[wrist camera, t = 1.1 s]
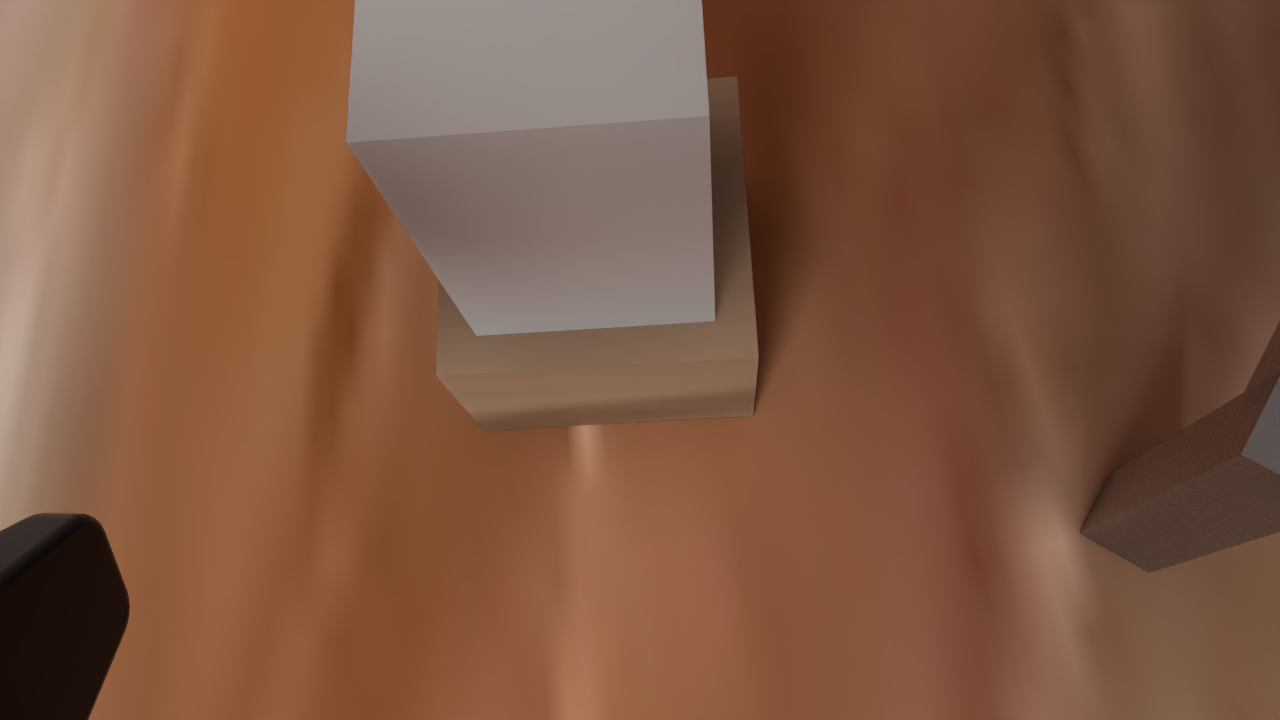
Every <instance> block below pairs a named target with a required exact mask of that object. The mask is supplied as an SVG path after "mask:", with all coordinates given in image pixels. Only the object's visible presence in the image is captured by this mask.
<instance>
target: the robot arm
mask: <svg viewBox="0 0 1280 720" xmlns="http://www.w3.org/2000/svg"><path fill="white" fill-rule="evenodd" d="M129 609H130V605H129V596H128V592H127V589H126V587H125V584H124V581H123V579H122V576H121V573H120V571H119V568H118V565H117V563H116V560H115V557H114V555H113V552H112V549H111V547H110V544H109V541H108V539H107V536H106V533H105V531H104V529H103V527H102V525H101V524H100V523H99V522H98V521H97V520H96V519H95V518H94V517H92V516H89V515H87V514H74V513H40V514H35V515H32V516H30V517H27V518H25V519H23V520H21V521H19V522H17V523H15V524H13V525H11V526H10V527H8V528H6V529H4V530H2V531H0V720H88V719H89V716H90V714H91V712H92V709H93V707H94V704H95V702H96V700H97V697H98V695H99V692H100V690H101V688H102V685H103V683H104V680H105V678H106V676H107V673H108V671H109V669H110V666H111V664H112V661H113V659H114V657H115V654H116V652H117V649H118V647H119V645H120V642H121V640H122V637H123V635H124V633H125V630H126V627H127V623H128V618H129Z"/></svg>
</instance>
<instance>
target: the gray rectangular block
mask: <svg viewBox="0 0 1280 720" xmlns="http://www.w3.org/2000/svg"><path fill="white" fill-rule="evenodd" d="M346 144H347V145H348V147H349V148H350V150H351V151H352V152H353V154H354V155H355V157H356V158H357V160H358V161H359V163H360V164H361V166H362V167H363V169H364V170H365V172H366V173H367V175H368V176H369V178H370V179H371V181H372V182H373V184H374V185H375V187H376V188H377V189H378V191H379V192H380V194H381V195H382V197H383V198H384V200H385V201H386V203H387V204H388V206H389V207H390V209H391V210H392V212H393V213H394V215H395V216H396V218H397V219H398V221H399V222H400V224H401V225H402V227H403V228H404V229H405V231H406V232H407V234H408V235H409V237H410V238H411V240H412V241H413V243H414V244H415V246H416V247H417V249H418V250H419V252H420V253H421V255H422V256H423V258H424V259H425V261H426V262H427V264H428V265H429V266H430V268H431V269H432V271H433V272H434V274H435V275H436V277H437V278H438V280H439V281H440V283H441V284H442V286H443V287H444V289H445V290H446V292H447V293H448V295H449V296H450V298H451V299H452V301H453V302H454V303H455V305H456V306H457V308H458V309H459V311H460V312H461V314H462V315H463V317H464V318H465V320H466V321H467V323H468V324H469V326H470V327H471V329H472V330H473V332H474V333H475V335H476V336H483V335H499V334H515V333H532V332H548V331H564V330H581V329H597V328H613V327H630V326H646V325H662V324H678V323H695V322H711V321H715V293H714V258H713V224H712V189H711V154H710V120H709V102H708V87H707V72H706V57H705V41H704V26H703V11H702V0H355V13H354V28H353V43H352V58H351V73H350V89H349V104H348V119H347V134H346Z"/></svg>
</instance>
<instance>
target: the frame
mask: <svg viewBox="0 0 1280 720" xmlns="http://www.w3.org/2000/svg"><path fill="white" fill-rule="evenodd" d="M1277 532H1280V322H1279V324H1278V326H1277V328H1276V330H1275V332H1274V334H1273V336H1272V338H1271V340H1270V342H1269V344H1268V346H1267V348H1266V350H1265V352H1264V354H1263V356H1262V358H1261V360H1260V362H1259V364H1258V366H1257V368H1256V370H1255V372H1254V374H1253V376H1252V378H1251V380H1250V382H1249V384H1248V386H1247V388H1246V390H1245V392H1244V393H1243V394H1241V395H1239V396H1238V397H1236V398H1234V399H1233V400H1231V401H1229V402H1228V403H1226V404H1224V405H1223V406H1221V407H1219V408H1218V409H1216V410H1214V411H1213V412H1211V413H1210V414H1208V415H1206V416H1205V417H1203V418H1201V419H1200V420H1198V421H1196V422H1195V423H1193V424H1191V425H1190V426H1188V427H1186V428H1185V429H1183V430H1181V431H1180V432H1178V433H1177V434H1175V435H1173V436H1172V437H1170V438H1168V439H1167V440H1165V441H1163V442H1162V443H1160V444H1158V445H1157V446H1155V447H1153V448H1152V449H1150V450H1148V451H1147V452H1145V453H1143V454H1142V455H1140V456H1139V457H1137V458H1135V459H1134V460H1132V461H1130V462H1129V463H1127V464H1125V465H1124V466H1122V467H1120V468H1119V469H1117V470H1115V471H1114V472H1112V473H1111V475H1110V477H1109V479H1108V481H1107V483H1106V485H1105V487H1104V489H1103V490H1102V492H1101V494H1100V496H1099V498H1098V500H1097V502H1096V504H1095V506H1094V508H1093V510H1092V511H1091V513H1090V515H1089V517H1088V519H1087V521H1086V523H1085V525H1084V527H1083V529H1082V530H1081V532H1080V533H1081V534H1082V535H1084V536H1086V537H1088V538H1089V539H1091V540H1093V541H1095V542H1096V543H1098V544H1100V545H1102V546H1103V547H1105V548H1107V549H1109V550H1110V551H1112V552H1114V553H1116V554H1118V555H1119V556H1121V557H1123V558H1125V559H1126V560H1128V561H1130V562H1132V563H1133V564H1135V565H1137V566H1139V567H1140V568H1142V569H1144V570H1146V571H1147V572H1149V573H1150V572H1153V571H1156V570H1159V569H1163V568H1166V567H1169V566H1172V565H1175V564H1178V563H1182V562H1185V561H1188V560H1191V559H1194V558H1198V557H1201V556H1204V555H1207V554H1210V553H1213V552H1217V551H1220V550H1223V549H1226V548H1229V547H1232V546H1236V545H1239V544H1242V543H1245V542H1248V541H1251V540H1255V539H1258V538H1261V537H1264V536H1267V535H1270V534H1274V533H1277Z"/></svg>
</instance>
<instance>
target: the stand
mask: <svg viewBox="0 0 1280 720" xmlns="http://www.w3.org/2000/svg"><path fill="white" fill-rule="evenodd" d="M707 87H708V102H709V120H710V154H711V189H712V224H713V258H714V293H715V321H711V322H695V323H678V324H662V325H646V326H630V327H613V328H597V329H581V330H564V331H548V332H532V333H515V334H499V335H483V336H476V335H475V333H474V332H473V330H472V329H471V327H470V326H469V324H468V323H467V321H466V320H465V318H464V317H463V315H462V314H461V312H460V311H459V309H458V308H457V306H456V305H455V303H454V302H453V301H452V299H451V298H450V296H449V295H448V293H447V292H446V290H445V289H444V287H443V286H442V284H441V283H440V281H439V298H438V331H437V363H436V376H437V378H438V379H439V380H440V381H441V382H442V383H443V384H444V386H445V387H446V388H447V389H448V390H449V391H450V392H451V394H452V395H453V396H454V397H455V398H456V399H457V400H458V401H459V403H460V404H461V405H462V406H463V407H464V408H465V409H466V411H467V412H468V413H469V414H470V415H471V416H472V417H473V419H474V420H475V421H476V422H477V423H478V424H479V425H480V426H481V428H482V429H483V430H484V431H485V430H503V429H521V428H539V427H557V426H576V425H594V424H612V423H630V422H648V421H666V420H684V419H702V418H720V417H738V416H753V414H754V403H755V392H756V382H757V371H758V360H759V353H758V340H757V327H756V314H755V301H754V288H753V275H752V262H751V249H750V236H749V223H748V210H747V197H746V184H745V171H744V158H743V145H742V132H741V119H740V106H739V93H738V80H737V76H732V77H719V78H707Z"/></svg>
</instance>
